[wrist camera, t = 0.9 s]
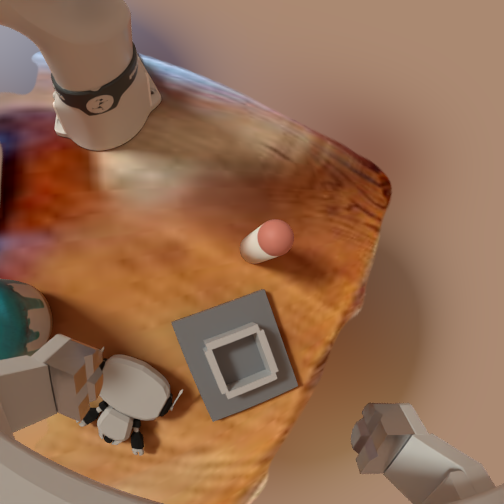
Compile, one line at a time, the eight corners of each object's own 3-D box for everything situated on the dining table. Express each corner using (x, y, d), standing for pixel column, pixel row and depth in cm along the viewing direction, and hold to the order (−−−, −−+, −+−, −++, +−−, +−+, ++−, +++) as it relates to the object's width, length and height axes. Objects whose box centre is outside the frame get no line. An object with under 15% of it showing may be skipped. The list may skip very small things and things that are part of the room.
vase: (69, 347, 38) (9, 379, 20) (14, 354, 35) (-56, 381, 17) (54, 276, 39) (-14, 265, 20) (1, 288, 36) (-75, 282, 18)
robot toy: (145, 450, 39) (185, 378, 42) (143, 465, 35) (185, 389, 37) (76, 413, 37) (110, 337, 40) (68, 425, 33) (102, 344, 35)
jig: (171, 321, 42) (171, 325, 38) (261, 289, 46) (270, 289, 42) (211, 417, 42) (215, 429, 37) (294, 383, 46) (306, 391, 41)
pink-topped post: (235, 239, 46) (257, 221, 34) (262, 230, 47) (291, 211, 36) (245, 267, 46) (270, 259, 34) (272, 258, 47) (304, 247, 35)
